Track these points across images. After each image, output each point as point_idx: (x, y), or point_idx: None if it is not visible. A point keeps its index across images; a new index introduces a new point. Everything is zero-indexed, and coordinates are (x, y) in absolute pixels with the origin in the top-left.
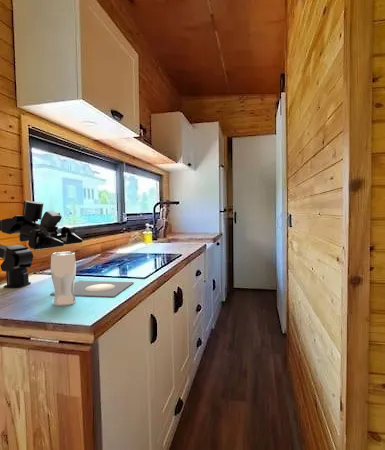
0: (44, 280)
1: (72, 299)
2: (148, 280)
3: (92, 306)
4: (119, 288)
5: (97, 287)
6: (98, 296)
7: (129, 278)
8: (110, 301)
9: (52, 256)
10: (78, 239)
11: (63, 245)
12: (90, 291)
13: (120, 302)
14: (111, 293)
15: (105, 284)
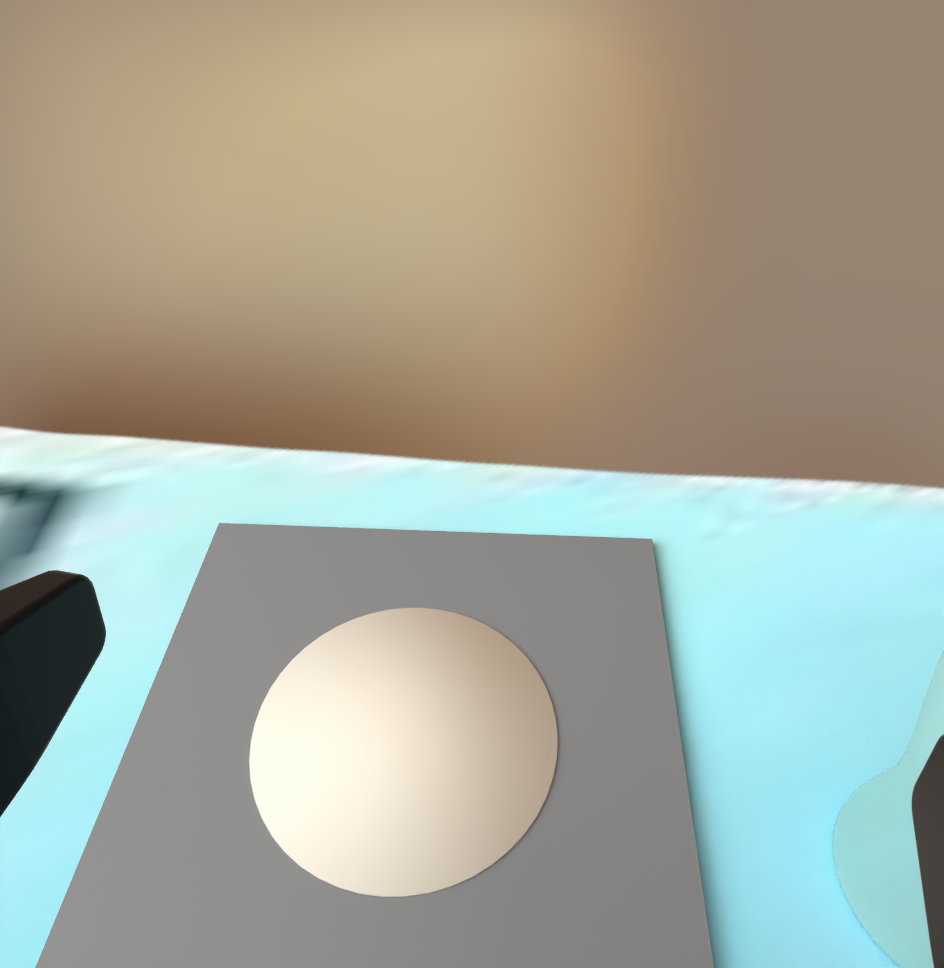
0: None
1: None
2: (150, 459)
3: (896, 607)
4: (432, 564)
5: (402, 759)
6: (665, 652)
7: None
8: (745, 539)
9: None
10: (5, 672)
11: (923, 790)
12: (553, 772)
13: (744, 482)
14: (587, 574)
15: (279, 723)
